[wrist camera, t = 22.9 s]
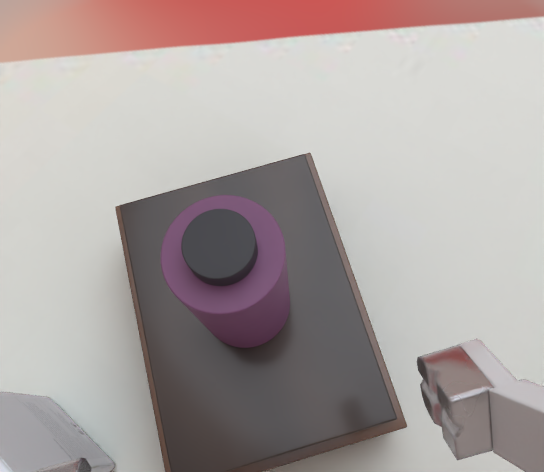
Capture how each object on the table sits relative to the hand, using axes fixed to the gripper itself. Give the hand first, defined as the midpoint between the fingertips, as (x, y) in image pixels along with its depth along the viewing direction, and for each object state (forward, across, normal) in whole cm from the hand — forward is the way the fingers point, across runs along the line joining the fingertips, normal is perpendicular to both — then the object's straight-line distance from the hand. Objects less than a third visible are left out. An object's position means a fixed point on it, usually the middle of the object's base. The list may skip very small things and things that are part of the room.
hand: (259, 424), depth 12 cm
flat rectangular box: (+18, 0, +9) cm, 20 cm away
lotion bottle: (+14, 0, +5) cm, 14 cm away
